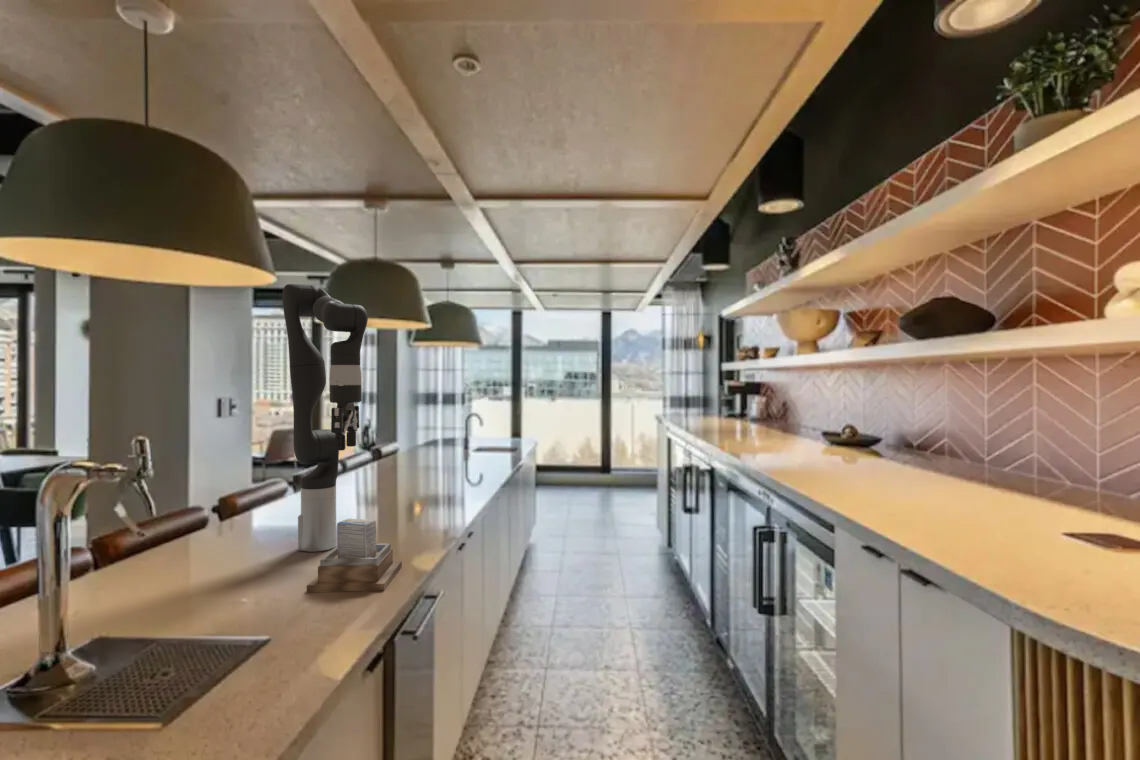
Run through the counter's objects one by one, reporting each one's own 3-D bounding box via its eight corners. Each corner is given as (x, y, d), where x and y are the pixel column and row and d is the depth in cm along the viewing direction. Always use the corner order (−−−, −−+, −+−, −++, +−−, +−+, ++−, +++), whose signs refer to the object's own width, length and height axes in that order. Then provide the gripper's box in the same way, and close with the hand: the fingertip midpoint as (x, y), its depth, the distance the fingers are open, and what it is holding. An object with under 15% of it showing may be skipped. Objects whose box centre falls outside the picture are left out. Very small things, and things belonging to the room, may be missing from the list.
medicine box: (377, 556, 143) (376, 519, 143) (365, 561, 138) (365, 524, 138) (348, 553, 145) (348, 517, 145) (336, 558, 141) (336, 522, 141)
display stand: (306, 592, 133) (306, 562, 133) (333, 568, 150) (332, 542, 150) (384, 590, 134) (384, 561, 134) (401, 566, 150) (401, 541, 151)
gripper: (339, 383, 156) (340, 445, 156) (320, 383, 142) (320, 451, 142) (368, 383, 157) (369, 445, 157) (352, 383, 143) (352, 451, 142)
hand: (345, 448), depth 149 cm, fingers open, 8 cm apart
